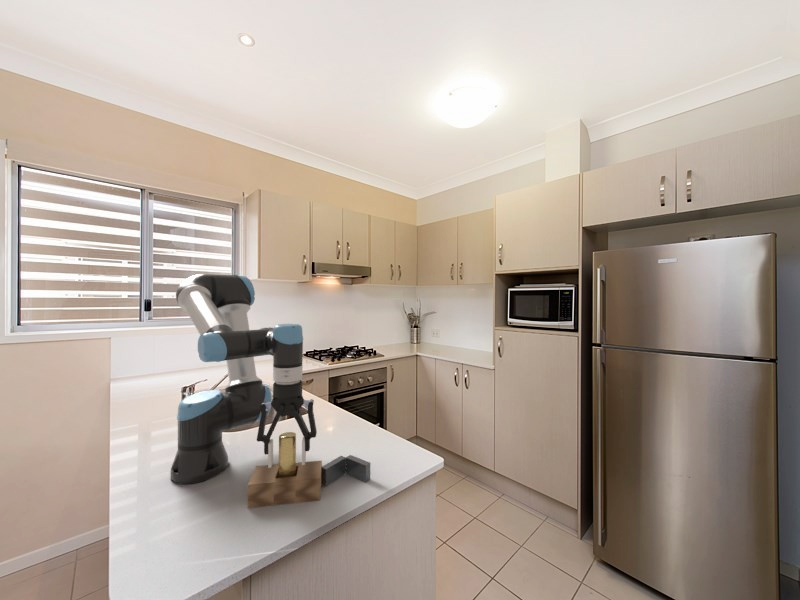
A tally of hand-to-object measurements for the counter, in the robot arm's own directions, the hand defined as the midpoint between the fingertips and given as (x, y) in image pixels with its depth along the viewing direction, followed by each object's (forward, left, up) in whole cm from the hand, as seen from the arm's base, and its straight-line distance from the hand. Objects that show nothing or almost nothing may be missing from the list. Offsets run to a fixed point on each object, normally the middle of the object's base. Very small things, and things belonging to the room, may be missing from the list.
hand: (287, 463), depth 88 cm
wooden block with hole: (0, 0, -8) cm, 8 cm away
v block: (+16, +5, -8) cm, 19 cm away
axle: (0, 0, -8) cm, 8 cm away
